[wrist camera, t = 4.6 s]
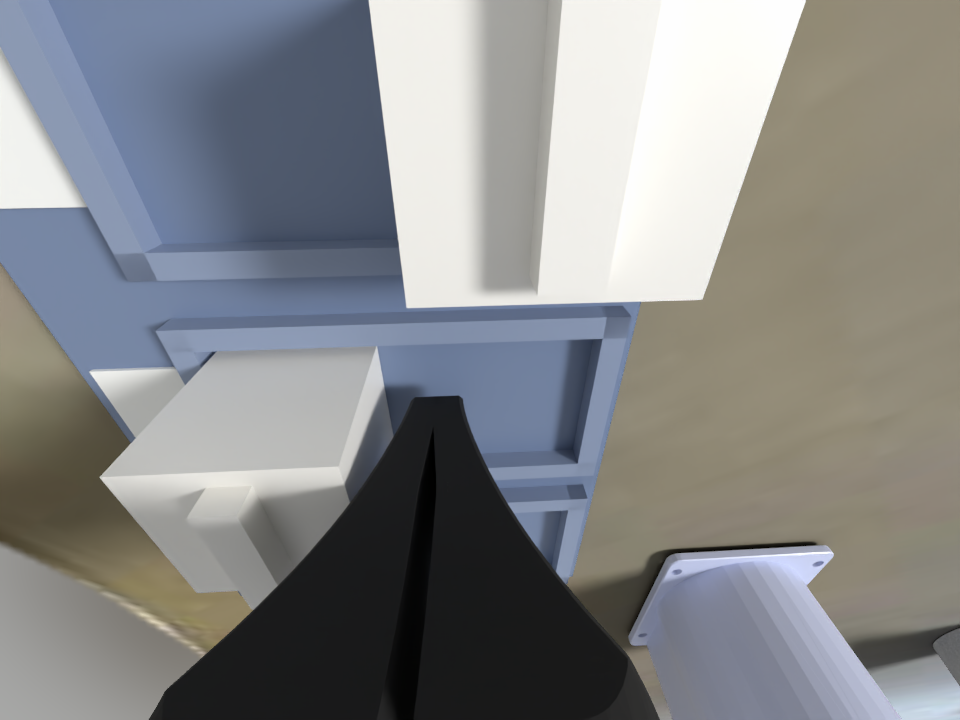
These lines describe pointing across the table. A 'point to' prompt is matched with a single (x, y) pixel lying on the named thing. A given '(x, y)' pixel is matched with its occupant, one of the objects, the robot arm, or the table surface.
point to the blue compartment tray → (266, 231)
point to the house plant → (950, 652)
